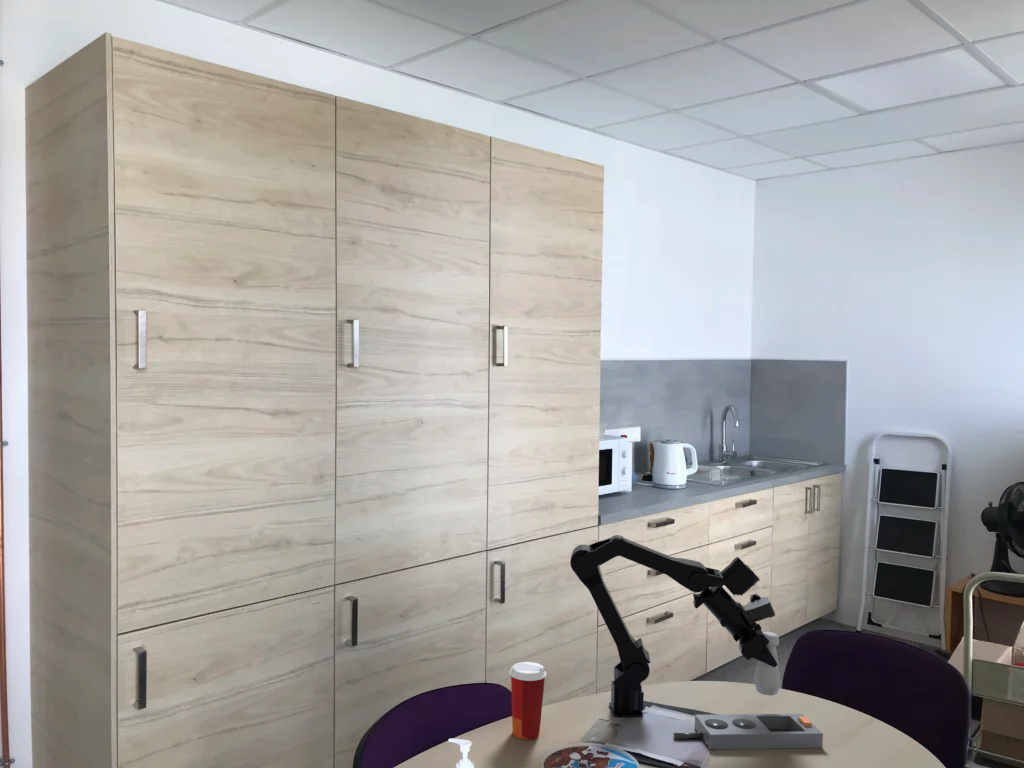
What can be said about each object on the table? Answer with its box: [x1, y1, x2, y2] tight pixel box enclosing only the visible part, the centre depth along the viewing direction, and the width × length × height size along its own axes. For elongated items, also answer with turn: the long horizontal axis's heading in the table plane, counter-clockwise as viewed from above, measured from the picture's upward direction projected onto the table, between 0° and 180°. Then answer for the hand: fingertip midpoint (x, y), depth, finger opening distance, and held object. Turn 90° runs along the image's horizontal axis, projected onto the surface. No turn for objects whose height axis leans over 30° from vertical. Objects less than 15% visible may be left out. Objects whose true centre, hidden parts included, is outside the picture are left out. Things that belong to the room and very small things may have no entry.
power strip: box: [672, 713, 824, 750], centre depth 168 cm, size 30×10×4 cm, turn 95°
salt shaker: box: [753, 631, 782, 697], centre depth 176 cm, size 6×6×13 cm
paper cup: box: [508, 661, 547, 741], centre depth 167 cm, size 8×8×14 cm
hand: (774, 662), depth 176 cm, fingers closed on salt shaker, 3 cm apart
